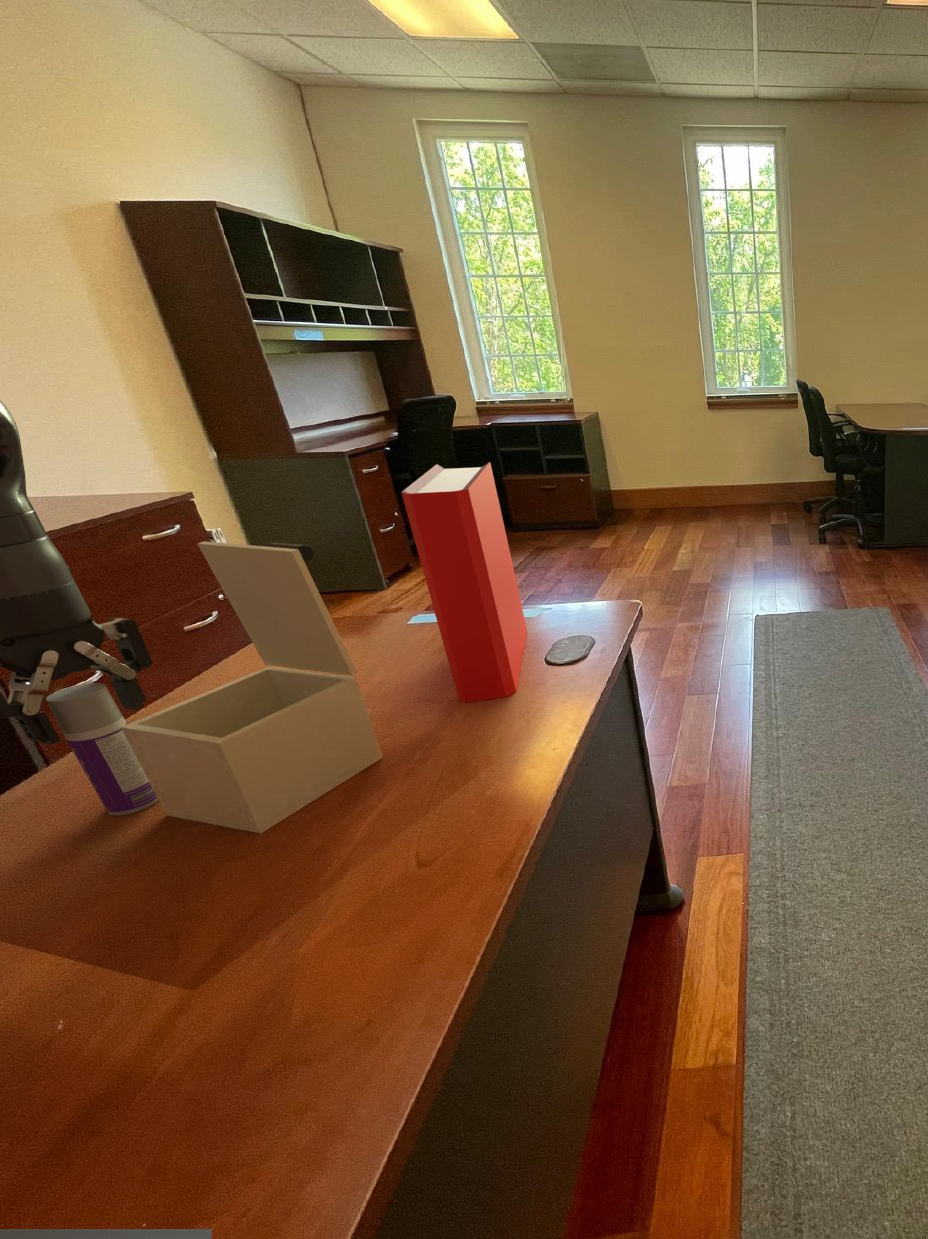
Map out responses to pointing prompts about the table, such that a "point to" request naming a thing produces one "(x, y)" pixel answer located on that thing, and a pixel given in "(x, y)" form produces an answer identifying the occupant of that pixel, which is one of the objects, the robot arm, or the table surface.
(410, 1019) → the table surface
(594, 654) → the table surface
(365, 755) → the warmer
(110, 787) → the container
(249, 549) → the lid
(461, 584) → the book
